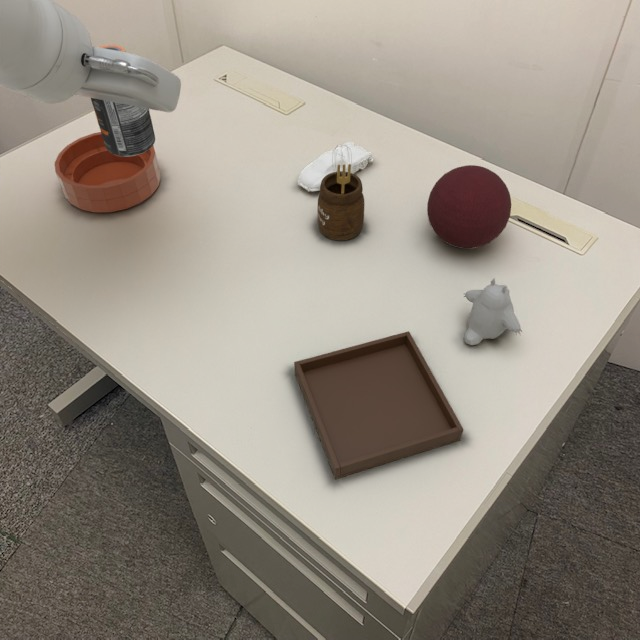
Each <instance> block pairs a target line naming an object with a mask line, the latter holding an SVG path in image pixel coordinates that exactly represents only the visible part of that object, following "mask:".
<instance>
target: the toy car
mask: <svg viewBox="0 0 640 640" xmlns="http://www.w3.org/2000/svg"><path fill="white" fill-rule="evenodd" d="M342 145H345V147H346V148H348V147H349V148H350V149H349V148H348V149H346V148H345V147H344V146H342V147H341V146H339V145H338V147H335V148H336V149H335V148H333V149H331V150H327V151H325V152H323V153H322V154H320V155H319V156H318V157H317V158H316V159H315V160H313V161H311V162H309V163H308V164H307V165H306V166H304V168H302V170H301V172H300V173H299V176H298V179H297V186H299V187H301V188H303V189H304V190H305V191H307V192H308V193H310V192H313V193H315V192H320V185H321V181H322V179H323V178H324V177H325V176H326V175H328V174H330V173H333V172H336V170H337V166H338V164H340V171H341V167H342V170H343V164H345V165H346V168H345V172H348V166H347V164H348V165H349V164H351V173H353V174H356V173H357V172H359V170H365V168H366V167H367V166H368V163H369V162H370V163H372V162H373V161H374V158H373V152H371V151H367V150H366V149H365V148H364V147H362V146H360V145H355V142H354V141H348V142H344V143H342ZM347 146H348V147H347ZM338 148H339V149H338ZM342 148H343V155H342ZM334 149H335V150H334ZM337 150H338V151H337ZM347 150H348V151H347ZM350 150H351V151H350ZM333 151H334V152H333ZM348 152H349V154H348ZM336 153H337V154H336ZM332 155H333V165H332ZM351 156H352V163H351ZM335 165H336V167H335ZM333 168H334V170H333ZM346 170H347V171H346Z"/></svg>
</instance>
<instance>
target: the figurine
mask: <svg viewBox="0 0 640 640" xmlns="http://www.w3.org/2000/svg"><path fill="white" fill-rule="evenodd" d="M463 298H466V300H467V301H469V302H470V303H472V306H471V309H470V312H469V315H468V329H467V330H466V331H465V333H464V335H463V340H464V342H465V344H467V345H470V346H476V345H479V344H480V343H481V342H482V340H487V339H490V340H491V339H492V340H494V339H496V338H498V337H499V336H501V335H502V334H503V333H504V332H505V331H506V330H508V331H511V332H513V333H514V334H515V335H516V336H517V335H518V334H519V335H520V336H522V334H521V333H523V330H522V328H521V323H520V322H519V319H518V318H517V315H516V313H514V312H515V309H514V305H513V302H512V299H511V296H510V289H509V288H508V286H507V285H506V284H496V278H495V277H494V278H493V279H492V280H491V281H490V284H488V285H486V286H485V287H484V288H483V289H470V290H467V291H466V292H465V293H463Z"/></svg>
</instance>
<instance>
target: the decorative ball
mask: <svg viewBox="0 0 640 640" xmlns="http://www.w3.org/2000/svg"><path fill="white" fill-rule="evenodd" d="M429 192H430V193H429V196H428V199H427V210H426V211H427V218H428V222H429V225H430V226H431V228H432V230H433V232H434V233H435V235H436V236H437V237H439V239H441V240H442V241H443V242H444V243H446V244H448V245H449V246H452V247H456V248H459V249H466V250H467V249H468V250H469V249H477V248H481V247H484V246H485V245H488V244H491V242H493V241H494V240H495V239H497V237H498V238H499V236H500V235H501V234H502V232H503V231H504V230H505V228H506V227H507V225H508V223H509V220H510V217H511V213H512V212H511V211H512V198H511V193H510V191H509V187H508V186H507V184H506V183H505V182H504V180H503V179H502V178H501V177H500V175H498V174H497V173H496V172H494V171H493V170H491V169H489V168H487V167H484V166H481V165H474V164H469V165H468V164H467V165H462V166H457V167H454V168H453V169H451V170H449V171H448V172H446V173H444V174H443V175H442V176H441V177H440V178H439V179H437V181H436V182H435V184H434V185H433V187H432V189H431V190H430V191H429Z"/></svg>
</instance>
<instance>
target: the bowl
mask: <svg viewBox="0 0 640 640" xmlns="http://www.w3.org/2000/svg"><path fill="white" fill-rule="evenodd" d="M54 172H55V175H56V177H57V180H58V182H59V185H60V187H61V190H62V193H63V195H64V197H65V198H66V200H67V201H68V202H69V203H70V205H72V206H74V207H76V208H78V209H79V210H82V211H86V212H91V213H113V212H119V211H122V210H127V209H129V208H131V207H134V206H137V205H140V204H142V202H144V201H145V200H147V199H148V198H150V197H151V196H152V195H153V194H154V192H155V191H156V190H157V189H158V188H159V186H160V182H161V178H162V174H161V171H160V166H159V161H158V158H157V154H156V150H155V146H154V145H153V146H152V147H151V148H150V149H149V150H147V151H146V152H144V153H142V154H139V155H135V156H128V157H124V156H117V155H114V154H112V153H111V152H109V151H108V150H107V149H106V147H105V144H104V140H103V137H102V134H101V131H98V132H93V133H89V134H87V135H85V136H81V137H79V138H76V140H74V141H72V142H71V143H69V144H67V145H66V146H65V147H64V148H63V149H62V150H61V151H60V152H59V153H58V154H57V157H56V159H55V161H54Z"/></svg>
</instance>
